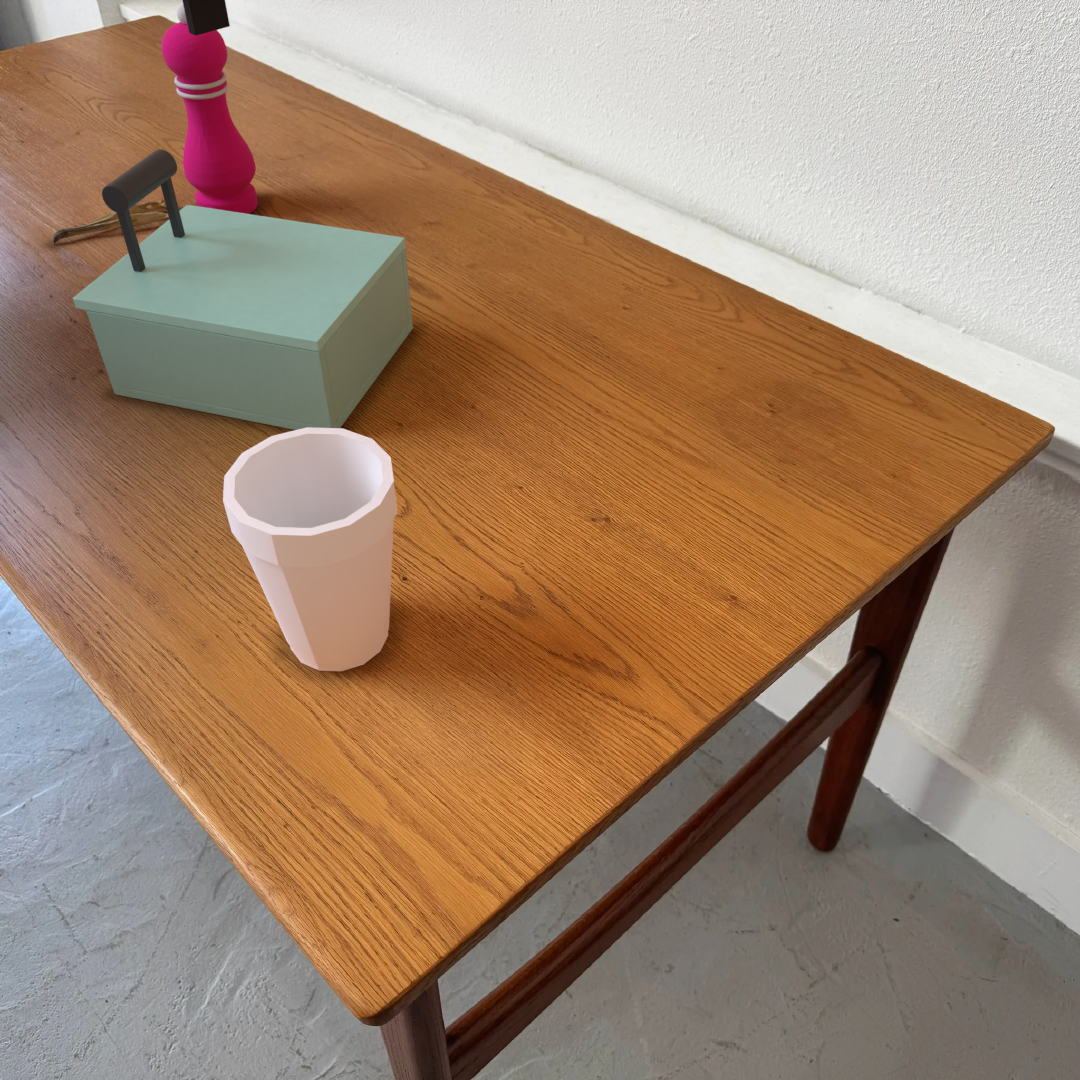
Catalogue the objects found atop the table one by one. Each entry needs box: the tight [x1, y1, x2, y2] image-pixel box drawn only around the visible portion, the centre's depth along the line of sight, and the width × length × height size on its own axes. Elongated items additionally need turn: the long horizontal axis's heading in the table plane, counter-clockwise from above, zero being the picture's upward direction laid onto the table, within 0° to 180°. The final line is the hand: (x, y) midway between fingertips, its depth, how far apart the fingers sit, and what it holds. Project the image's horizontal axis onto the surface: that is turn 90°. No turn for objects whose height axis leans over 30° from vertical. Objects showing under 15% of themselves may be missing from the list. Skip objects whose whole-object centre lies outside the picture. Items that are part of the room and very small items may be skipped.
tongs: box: [52, 198, 181, 246], centre depth 106 cm, size 4×13×2 cm, turn 126°
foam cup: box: [222, 427, 398, 672], centre depth 62 cm, size 10×9×13 cm
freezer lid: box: [72, 148, 407, 352], centre depth 81 cm, size 21×17×8 cm
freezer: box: [86, 247, 414, 431], centre depth 86 cm, size 20×17×8 cm
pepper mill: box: [161, 4, 259, 214], centre depth 103 cm, size 7×7×20 cm
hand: (154, 8), depth 73 cm, fingers open, 13 cm apart
